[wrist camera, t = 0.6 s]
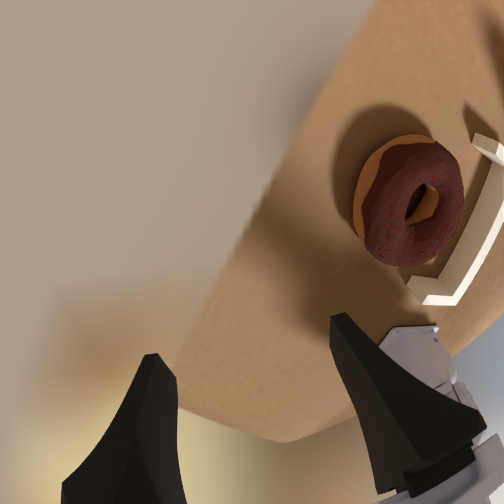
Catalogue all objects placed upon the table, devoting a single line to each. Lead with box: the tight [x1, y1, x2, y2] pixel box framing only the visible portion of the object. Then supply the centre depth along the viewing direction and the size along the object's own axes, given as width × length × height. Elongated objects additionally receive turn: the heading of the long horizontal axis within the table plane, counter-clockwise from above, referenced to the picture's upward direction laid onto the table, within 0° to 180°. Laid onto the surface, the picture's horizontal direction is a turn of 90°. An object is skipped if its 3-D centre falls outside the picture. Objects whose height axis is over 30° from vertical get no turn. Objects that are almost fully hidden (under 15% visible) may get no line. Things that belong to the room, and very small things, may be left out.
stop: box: [407, 132, 504, 306], centre depth 20 cm, size 6×16×3 cm, turn 166°
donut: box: [353, 134, 464, 267], centre depth 17 cm, size 10×10×4 cm
